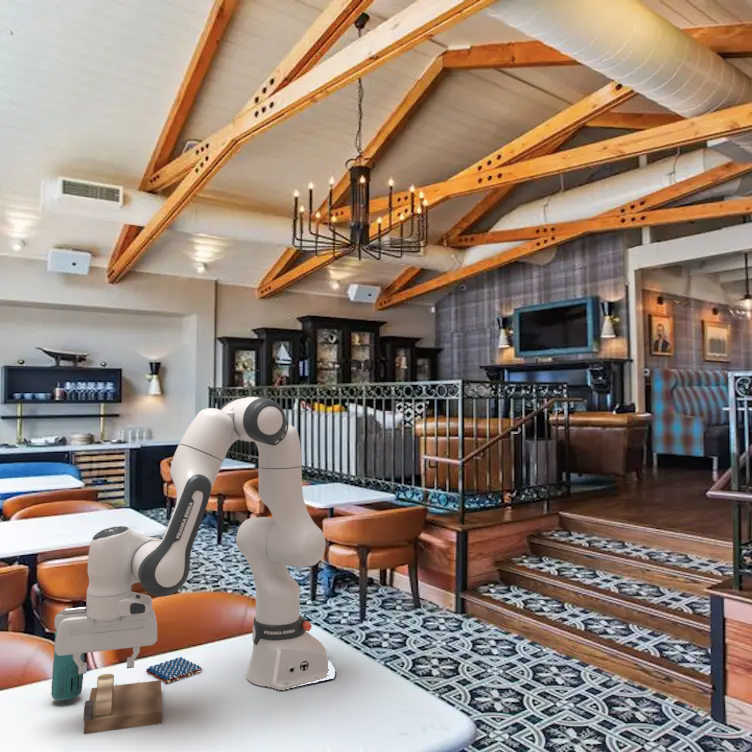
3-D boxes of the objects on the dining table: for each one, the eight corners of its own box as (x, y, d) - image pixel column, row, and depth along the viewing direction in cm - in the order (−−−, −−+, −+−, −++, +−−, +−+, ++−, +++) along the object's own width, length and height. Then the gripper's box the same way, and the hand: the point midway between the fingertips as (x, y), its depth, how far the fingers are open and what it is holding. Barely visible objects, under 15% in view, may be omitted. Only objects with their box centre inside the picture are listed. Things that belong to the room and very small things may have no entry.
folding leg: (97, 688, 139) (97, 674, 139) (113, 686, 141) (114, 673, 141) (94, 716, 127) (95, 701, 127) (112, 713, 128) (112, 698, 128)
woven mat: (204, 674, 156) (204, 666, 156) (166, 687, 148) (167, 678, 148) (181, 662, 163) (181, 655, 163) (144, 674, 155) (144, 666, 155)
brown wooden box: (160, 691, 145) (161, 667, 145) (161, 723, 130) (163, 696, 130) (90, 699, 140) (91, 674, 140) (82, 734, 125) (84, 706, 125)
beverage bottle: (69, 709, 135) (74, 616, 136) (42, 705, 136) (48, 613, 138) (88, 696, 142) (93, 607, 143) (63, 692, 143) (68, 605, 144)
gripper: (52, 614, 126) (50, 683, 125) (158, 604, 132) (156, 669, 132) (57, 604, 132) (54, 670, 131) (158, 595, 138) (156, 658, 138)
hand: (106, 670), depth 131 cm, fingers open, 8 cm apart
